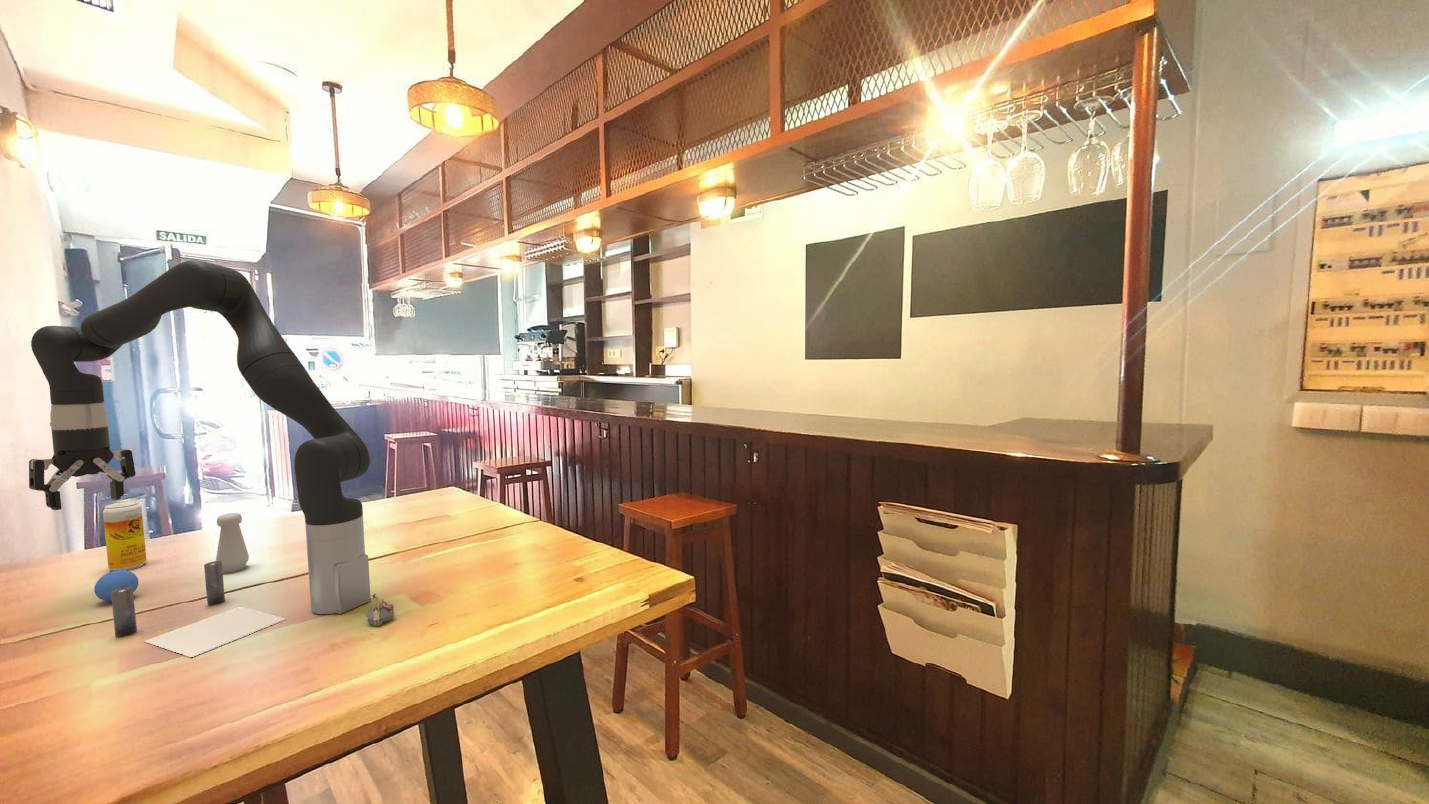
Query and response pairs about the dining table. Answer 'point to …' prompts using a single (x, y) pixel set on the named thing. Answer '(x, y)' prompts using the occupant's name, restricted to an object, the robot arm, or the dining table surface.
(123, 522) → the beer can
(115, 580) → the ball
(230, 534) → the salt shaker
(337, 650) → the dining table surface
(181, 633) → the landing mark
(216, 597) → the right post
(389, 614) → the figurine
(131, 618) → the left post
